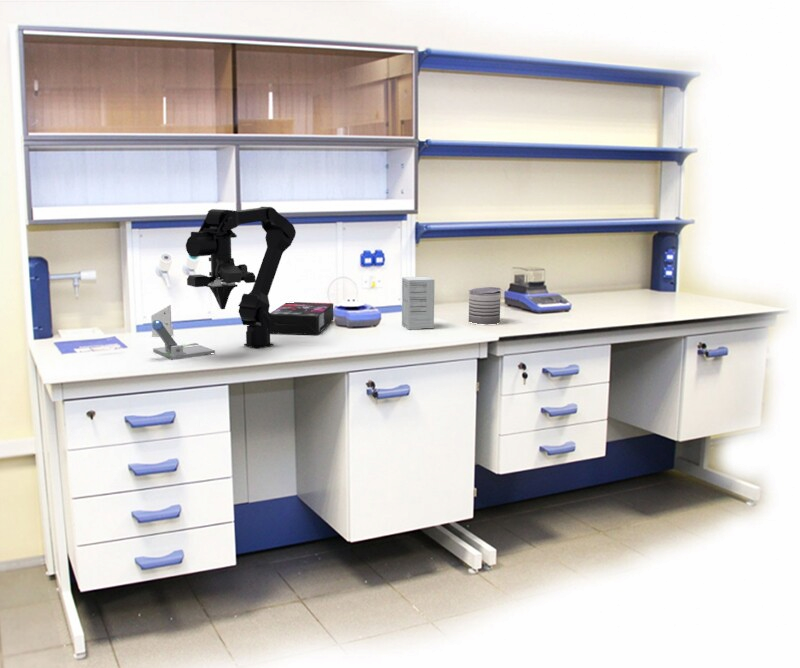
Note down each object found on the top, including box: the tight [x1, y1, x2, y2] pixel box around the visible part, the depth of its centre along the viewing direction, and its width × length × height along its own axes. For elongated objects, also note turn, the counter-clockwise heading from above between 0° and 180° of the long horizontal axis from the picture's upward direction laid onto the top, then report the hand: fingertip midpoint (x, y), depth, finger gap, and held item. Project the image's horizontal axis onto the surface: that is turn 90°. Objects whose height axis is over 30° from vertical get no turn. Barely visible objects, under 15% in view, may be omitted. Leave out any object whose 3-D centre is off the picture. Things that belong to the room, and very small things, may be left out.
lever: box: [151, 320, 178, 351], centre depth 236 cm, size 3×3×10 cm
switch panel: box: [152, 342, 216, 360], centre depth 244 cm, size 13×13×4 cm
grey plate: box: [150, 304, 174, 338], centre depth 269 cm, size 4×10×9 cm, turn 92°
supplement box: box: [401, 276, 435, 330], centre depth 287 cm, size 10×9×17 cm
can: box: [468, 286, 502, 325], centre depth 298 cm, size 11×11×12 cm
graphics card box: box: [269, 301, 335, 336], centre depth 286 cm, size 17×7×27 cm
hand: (222, 309), depth 241 cm, fingers closed
